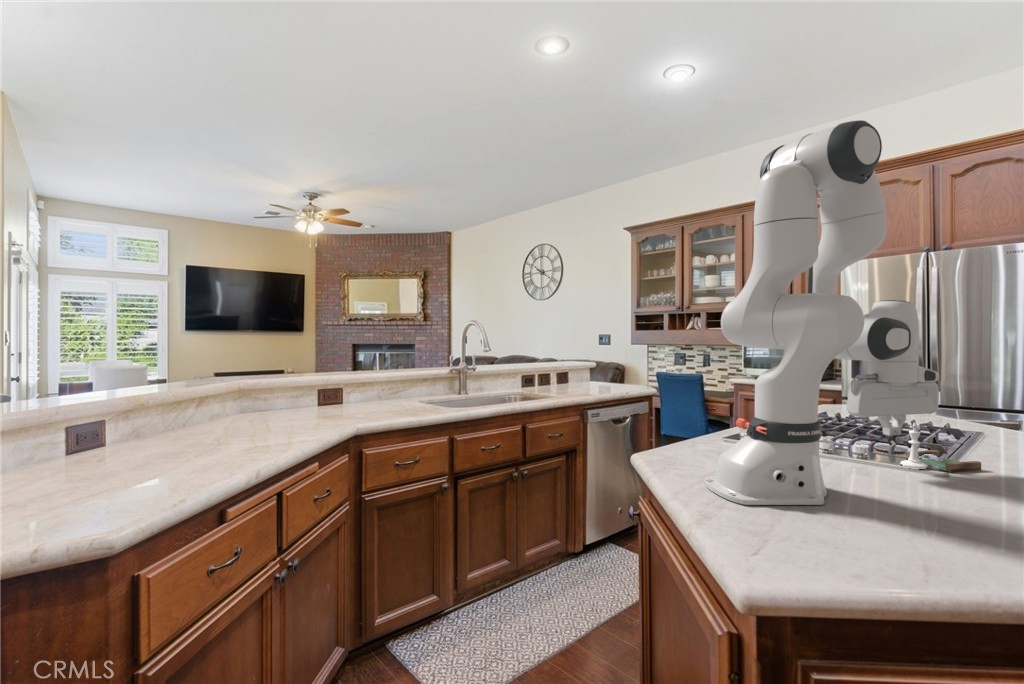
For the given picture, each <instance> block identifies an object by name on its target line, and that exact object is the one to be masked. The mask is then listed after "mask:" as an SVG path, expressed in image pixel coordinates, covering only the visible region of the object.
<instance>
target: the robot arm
mask: <svg viewBox="0 0 1024 684" xmlns="http://www.w3.org/2000/svg"><path fill="white" fill-rule="evenodd" d="M882 144H883V143H882V138H881V135H880V133H879V131H878V130H877V128H876V127H874V125H872V124H871V123H869V122H867V121H866V120H859V119H858V120H851V121H847V122H842V123H839V124H837V125H836V126H833V127H830V128H825V129H822V130H819V131H816V132H811V133H808V134H806V135H802V136H801V137H799V138H797V139H794V140H792V141H790V142H788V143H787V144H783V145H780V146H778V147H776V148H775V149H773V150H772V151H770V152H769V153H768V154H767V155H766V156H765V157H764V158H763V161H762V162H761V165H760V170H759V182H758V184H757V189H756V194H755V202H754V211H753V255H752V256H753V257H752V265H751V269H750V273H749V276H748V278H747V280H746V283H744V286H743V287H742V289H741V291H740V292H739V293H738V294H737V296H735V297H734V298H733V300H731V301H730V302H728V304H727V305H726V306H725V307H724V308H723V311H722V313H721V317H720V328H721V333H722V334H723V336H724V337H725V339H726V340H727V342H730V343H731V344H733V345H737V346H742V347H745V348H749V349H750V348H751V349H764V350H765V349H766V350H767V349H768V350H769V349H770V350H783V354H782V355H783V356H782V358H781V361H780V363H779V364H778V365H777V366H774V367H771V368H768V369H767V370H765V371H763V372H762V373H761V374H759V376H758V377H757V379H756V380H755V383H754V414H753V416H752V417H751V420H750V421H749V420H748V419H745V418H741V417H739V418H737V420H736V421H735V426H736V428H739V429H742V430H746V432H745V433H746V434H745V435H744V436H743V437H742V438H741V439H739V440H738V441H736V442H735V443H734V444H733V445H731V446H730V447H729V448H728V449H726V450H725V451H723V452H722V453H720V455H719V457H718V459H717V462H716V469H715V474H714V475H708V476H705V477H704V480H703V484H704V486H705V487H706V488H707V489H708V490H710V491H711V492H712V493H714V494H716V495H718V496H720V497H721V498H724V499H726V500H729V501H730V502H733V503H737V504H740V505H745V506H762V505H763V506H769V505H770V506H772V505H773V506H783V505H784V506H785V505H787V506H792V505H793V506H796V505H797V506H799V505H800V506H801V505H802V506H803V505H805V506H811V505H812V506H814V505H815V506H819V505H820V506H821V505H824V504H825V497H826V496H827V495H828V492H827V489H826V486H825V482H824V479H823V474H822V466H821V460H820V452H819V450H820V449H819V442H820V440H821V421H820V420H819V419H818V418H819V398H820V397H819V396H820V388H821V382H822V379H823V376H824V374H825V372H826V370H827V368H828V367H829V365H830V364H831V362H832V361H833V360H848V361H867V362H868V365H867V367H868V368H867V374H857V375H855V377H853V378H852V380H851V381H850V383H849V384H850V385H849V386H850V387H849V390H848V395H847V399H846V400H847V401H846V412H847V413H848V414H849V415H850V416H853V417H858V418H874V417H877V420H878V422H879V423H880V425H881V426H882V435H885V436H900V435H901V434H902V427H903V426H904V424H905V422H906V421H907V416H908V415H923V414H935V413H936V411H937V410H938V408H939V401H940V392H939V391H940V389H939V385H938V383H936V382H938V380H939V378H940V373H939V372H938V371H936V370H933V369H930V368H927V367H924V366H922V365H919V364H920V363H919V362H920V361H919V360H920V358H919V356H918V353H917V351H918V350H917V349H918V348H917V347H918V345H919V342H920V324H919V323H920V322H919V315H918V310H917V307H916V305H915V304H914V303H912V302H910V301H906V300H901V299H900V300H895V299H883V300H882V299H881V300H878V301H875V302H873V304H872V306H871V310H870V312H867V313H866V314H864V311H863V310H862V307H861V306H860V304H859V303H858V302H857V301H856V300H855V299H854V298H853V297H851V296H850V295H843V294H836V293H837V291H836V289H837V280H838V277H839V275H840V274H841V273H842V271H844V270H845V269H847V268H849V267H850V266H853V264H855V263H857V262H859V261H860V262H861V261H862V260H864V259H865V258H867V257H869V256H870V255H872V254H873V253H875V251H877V250H878V249H879V248H880V247H881V246H882V244H883V242H885V239H886V236H887V233H888V231H887V230H888V223H887V222H888V221H887V213H886V208H885V207H886V206H885V199H884V195H883V191H882V188H881V187H882V186H881V183H880V181H879V178H878V176H877V172H876V168H877V165H878V164H879V162H880V159H881V156H882V150H883V145H882ZM817 194H818V195H819V203H818V196H817ZM818 204H819V205H818ZM818 207H819V208H818ZM819 216H820V217H819ZM819 218H820V224H821V235H820V240H819ZM807 271H808V277H807V280H808V281H807V282H808V283H807V293H791V294H790V293H789V288H790V285H791V283H792V282H793V281H794V279H795V278H796V277H798V276H799V275H802V274H803V273H805V272H807ZM891 421H892V422H891Z"/></svg>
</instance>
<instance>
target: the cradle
mask: <svg viewBox="0 0 1024 684" xmlns="http://www.w3.org/2000/svg"><path fill="white" fill-rule="evenodd" d="M910 452H911V451H906V456H905V458H906V457H907V458H909V457H910ZM924 454H934V455H937V456H940V451H939V450H937V449H933V450H918V457H919V456H922V455H924ZM919 460H921V461H920V462H923V463H927V464H930V465H934V466H938V467H941V468H943V469H946V470H947V471H948V472H947V471H946V472H947V473H960V472H961V473H963V472H978V471H982V461H978V460H971V461H960V460H959V461H958V460H954V459H950V458H947V457H944V459H943V461H941V462H940V461H939V462H937V461H935V460H934V461H933V460H929V459H927V460H926V459H922V458H919Z"/></svg>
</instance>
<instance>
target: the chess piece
mask: <svg viewBox="0 0 1024 684" xmlns="http://www.w3.org/2000/svg"><path fill="white" fill-rule="evenodd" d="M909 428H910V429H912V430H909V431H908V433H909V436H910V439H911V440H908V443H909V444H911V447H910V451H909V452H910V457H909V458H908V460H906V459H905V460H900V463H899V464H902V465H903V466H908V467H914V468H926V467H928V468H929V466H928V465H927V464H925V463H922V462H920V461H921V460H919V457H918V451H919V450H918V445H920V444H921V442H920V441H919V440H918V439H919V437H920V435H921V432H920V431H918V430H917V429H921V428H920V425H917V423H916V422H913V423H912V425H909Z"/></svg>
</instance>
